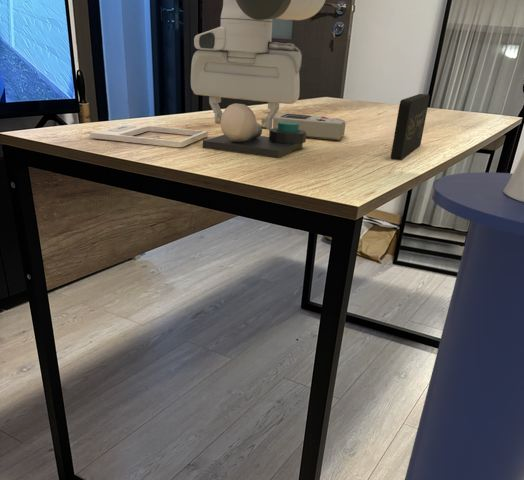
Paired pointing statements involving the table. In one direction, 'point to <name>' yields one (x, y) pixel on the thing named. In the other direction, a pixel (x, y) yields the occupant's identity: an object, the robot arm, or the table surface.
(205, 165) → the table surface
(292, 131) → the button
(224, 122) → the light bulb
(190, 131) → the photo frame
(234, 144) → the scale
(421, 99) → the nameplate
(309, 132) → the handheld gaming device
